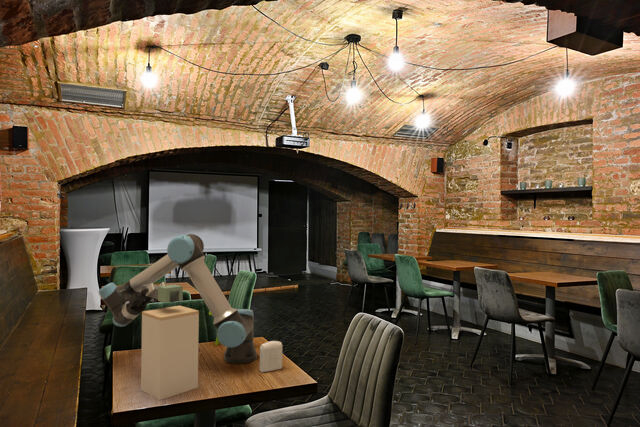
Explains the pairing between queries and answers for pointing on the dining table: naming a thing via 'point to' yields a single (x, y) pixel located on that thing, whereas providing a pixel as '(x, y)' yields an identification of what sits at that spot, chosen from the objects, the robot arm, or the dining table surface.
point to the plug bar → (166, 293)
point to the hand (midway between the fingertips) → (158, 285)
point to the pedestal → (169, 351)
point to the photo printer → (270, 356)
